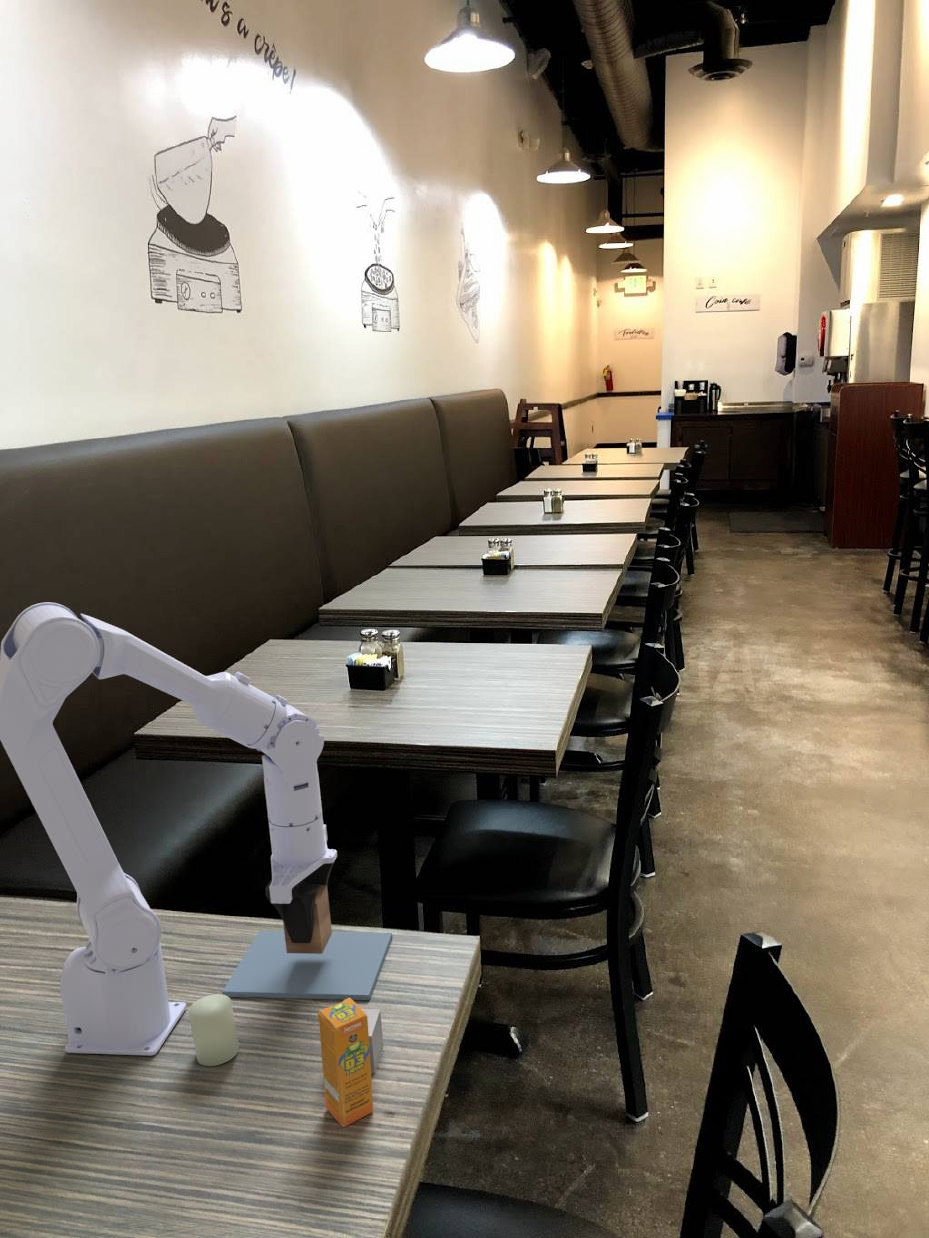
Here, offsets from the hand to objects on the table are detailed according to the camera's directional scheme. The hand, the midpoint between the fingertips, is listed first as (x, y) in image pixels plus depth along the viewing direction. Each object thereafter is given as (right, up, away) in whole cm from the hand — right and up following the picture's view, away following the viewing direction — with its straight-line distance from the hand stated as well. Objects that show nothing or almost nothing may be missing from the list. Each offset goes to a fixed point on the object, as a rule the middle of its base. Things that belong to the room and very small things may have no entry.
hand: (307, 930), depth 107 cm
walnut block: (0, -2, 0) cm, 2 cm away
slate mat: (0, -4, +1) cm, 4 cm away
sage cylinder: (-7, -8, -13) cm, 16 cm away
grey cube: (+7, -8, -15) cm, 18 cm away
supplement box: (+7, -9, -22) cm, 25 cm away
